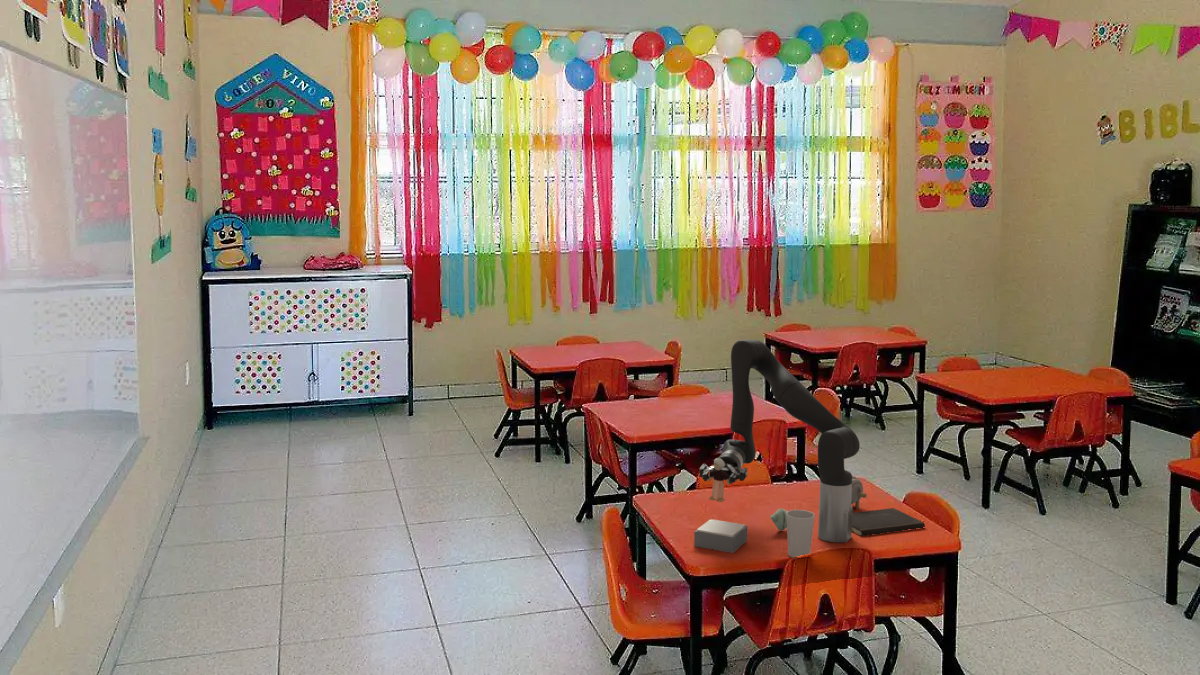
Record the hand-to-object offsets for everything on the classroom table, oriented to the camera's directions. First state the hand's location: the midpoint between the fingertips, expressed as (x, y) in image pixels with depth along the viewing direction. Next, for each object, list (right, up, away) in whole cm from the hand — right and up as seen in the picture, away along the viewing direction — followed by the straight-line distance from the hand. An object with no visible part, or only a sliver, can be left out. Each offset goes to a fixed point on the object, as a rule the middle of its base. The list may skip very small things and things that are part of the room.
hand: (718, 479), depth 304 cm
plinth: (+1, -19, +3) cm, 20 cm away
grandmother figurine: (0, -7, +3) cm, 7 cm away
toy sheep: (+46, -15, +40) cm, 62 cm away
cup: (+23, -21, -5) cm, 31 cm away
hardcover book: (+52, -18, +22) cm, 60 cm away
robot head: (+21, -18, +16) cm, 32 cm away
